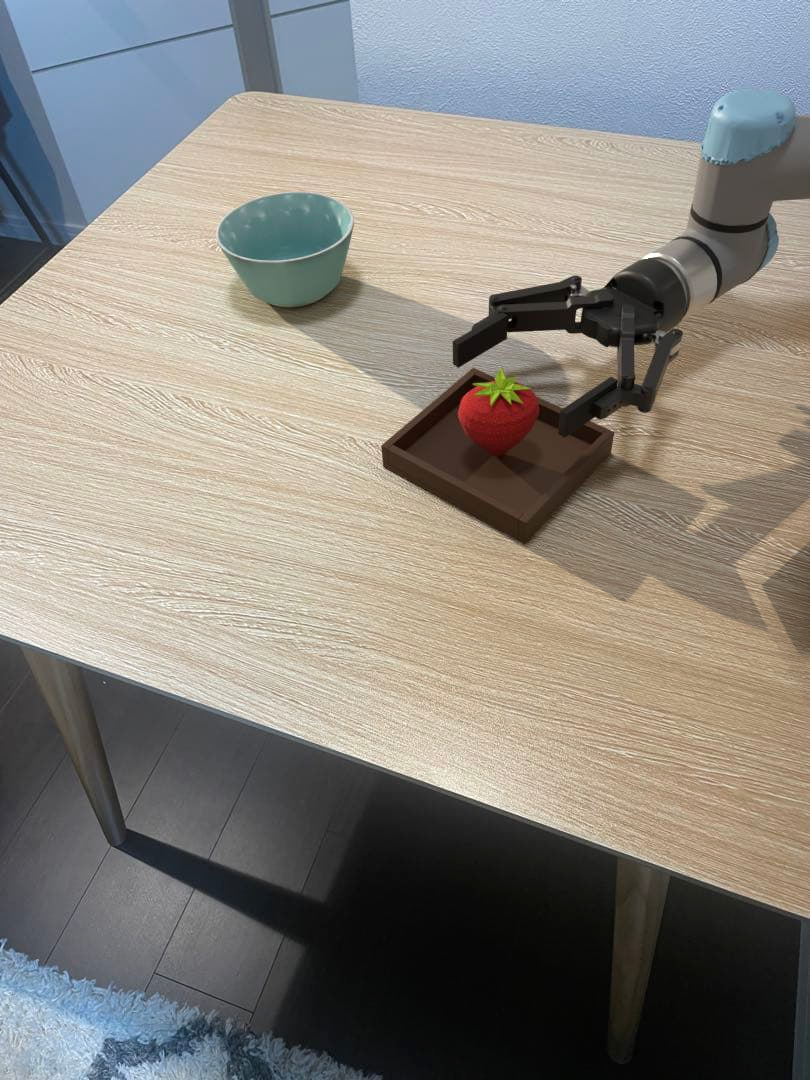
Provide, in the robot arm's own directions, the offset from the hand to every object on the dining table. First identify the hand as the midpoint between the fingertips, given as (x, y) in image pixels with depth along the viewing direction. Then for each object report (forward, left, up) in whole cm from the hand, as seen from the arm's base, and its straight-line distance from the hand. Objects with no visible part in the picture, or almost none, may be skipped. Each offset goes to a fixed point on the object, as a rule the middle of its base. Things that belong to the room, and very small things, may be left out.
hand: (506, 388), depth 82 cm
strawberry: (0, +1, -8) cm, 8 cm away
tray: (0, +1, -8) cm, 8 cm away
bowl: (+37, -9, -9) cm, 39 cm away
